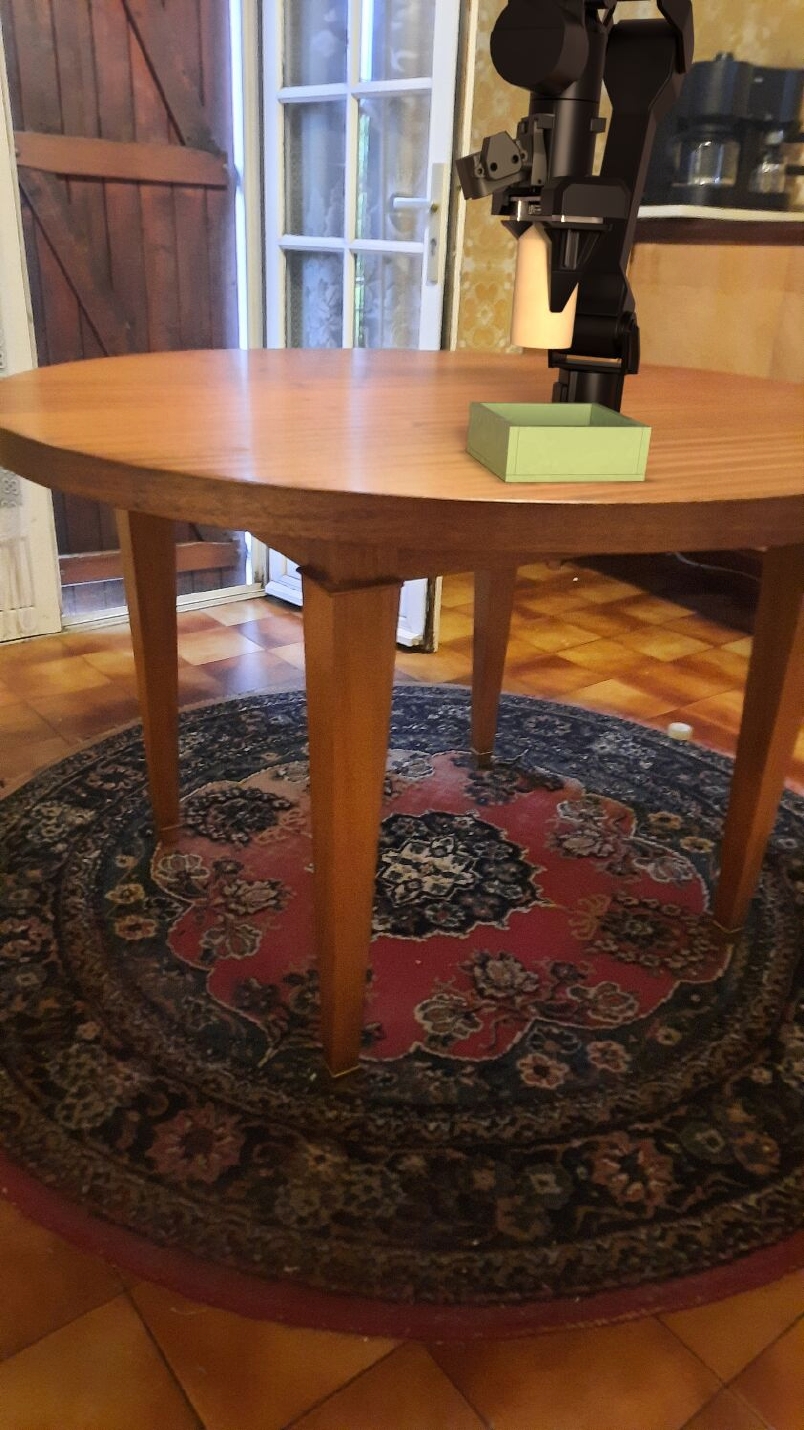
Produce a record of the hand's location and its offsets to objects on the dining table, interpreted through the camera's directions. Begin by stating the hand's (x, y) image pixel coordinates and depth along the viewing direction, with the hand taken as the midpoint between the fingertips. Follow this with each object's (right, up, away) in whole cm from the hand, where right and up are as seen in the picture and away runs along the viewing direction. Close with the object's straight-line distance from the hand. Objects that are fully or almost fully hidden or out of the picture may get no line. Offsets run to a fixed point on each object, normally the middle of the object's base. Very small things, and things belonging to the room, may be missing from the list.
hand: (544, 309), depth 89 cm
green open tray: (+1, -13, +3) cm, 13 cm away
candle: (0, -3, +1) cm, 3 cm away
